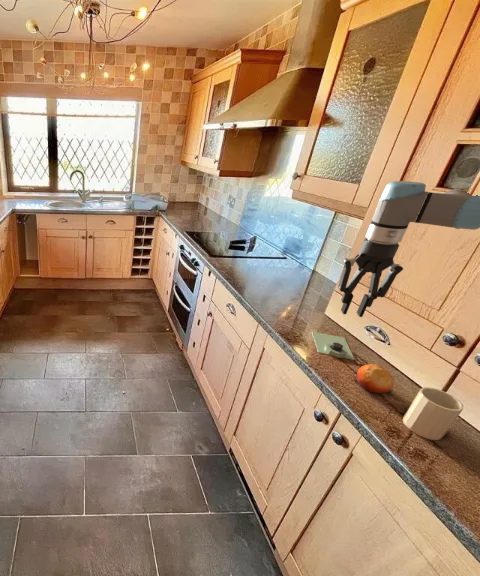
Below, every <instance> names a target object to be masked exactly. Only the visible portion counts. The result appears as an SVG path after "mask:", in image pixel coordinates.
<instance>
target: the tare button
mask: <svg viewBox="0 0 480 576" xmlns="http://www.w3.org/2000/svg"><path fill="white" fill-rule="evenodd" d="M331 349H333V350H334V351H338V352H341V351H342V349H343V345H341V344H339V343H333V344H332V347H331Z"/></svg>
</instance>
